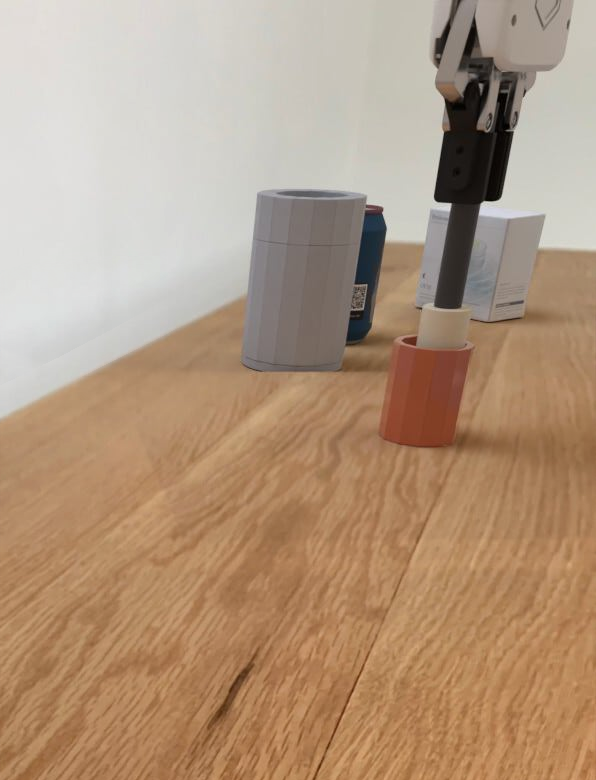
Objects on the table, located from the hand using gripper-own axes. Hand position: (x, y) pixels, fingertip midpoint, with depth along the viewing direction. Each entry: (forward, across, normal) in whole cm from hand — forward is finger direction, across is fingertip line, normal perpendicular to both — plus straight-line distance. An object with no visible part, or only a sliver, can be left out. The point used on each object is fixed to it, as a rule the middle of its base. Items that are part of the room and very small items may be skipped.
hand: (467, 199), depth 71 cm
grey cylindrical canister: (+16, +15, +20) cm, 30 cm away
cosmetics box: (+16, +51, +20) cm, 57 cm away
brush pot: (+16, 0, +1) cm, 16 cm away
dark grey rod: (+13, 0, 0) cm, 13 cm away
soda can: (+16, +28, +23) cm, 40 cm away
